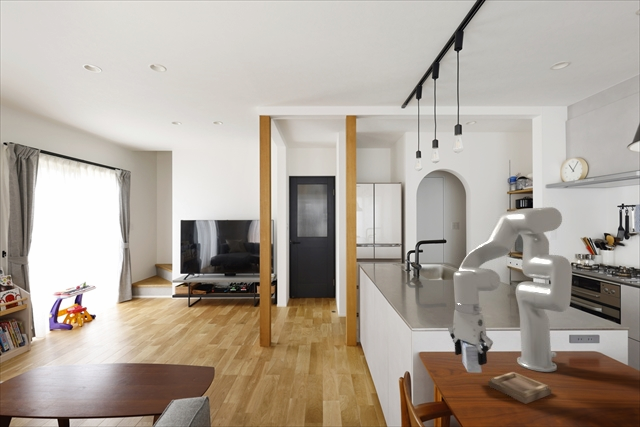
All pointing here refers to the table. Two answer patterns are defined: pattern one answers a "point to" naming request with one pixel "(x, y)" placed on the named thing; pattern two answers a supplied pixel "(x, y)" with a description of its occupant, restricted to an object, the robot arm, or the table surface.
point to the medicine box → (470, 357)
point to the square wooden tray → (519, 387)
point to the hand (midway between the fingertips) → (470, 358)
